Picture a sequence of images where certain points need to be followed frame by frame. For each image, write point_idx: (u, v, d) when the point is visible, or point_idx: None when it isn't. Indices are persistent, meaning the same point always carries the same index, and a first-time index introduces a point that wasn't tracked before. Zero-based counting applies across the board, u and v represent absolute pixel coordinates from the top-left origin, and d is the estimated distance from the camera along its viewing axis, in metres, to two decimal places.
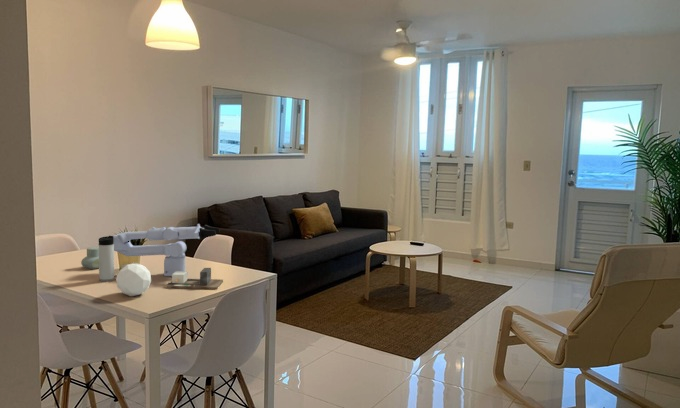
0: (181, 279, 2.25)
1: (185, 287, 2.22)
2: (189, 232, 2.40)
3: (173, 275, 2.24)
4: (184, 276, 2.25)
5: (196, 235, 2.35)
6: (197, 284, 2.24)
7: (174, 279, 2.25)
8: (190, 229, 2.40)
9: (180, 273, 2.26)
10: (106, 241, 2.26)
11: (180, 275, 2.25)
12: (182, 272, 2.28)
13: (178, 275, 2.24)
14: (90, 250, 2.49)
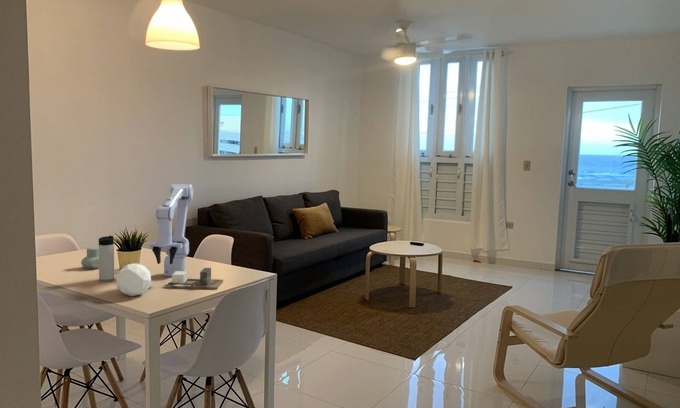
0: (181, 279, 2.25)
1: (185, 287, 2.22)
2: None
3: (173, 275, 2.24)
4: (184, 276, 2.25)
5: None
6: (197, 284, 2.24)
7: (174, 279, 2.25)
8: (159, 237, 2.23)
9: (180, 273, 2.26)
10: (106, 241, 2.26)
11: (180, 275, 2.25)
12: (182, 272, 2.28)
13: (178, 275, 2.24)
14: (90, 250, 2.49)
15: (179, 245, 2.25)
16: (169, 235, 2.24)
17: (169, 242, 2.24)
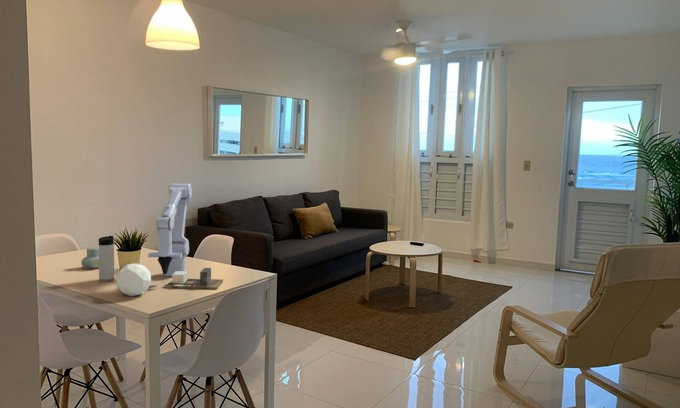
0: (181, 279, 2.25)
1: (185, 287, 2.22)
2: None
3: (173, 275, 2.24)
4: (184, 276, 2.25)
5: None
6: (197, 284, 2.24)
7: (174, 279, 2.25)
8: (159, 247, 2.24)
9: (180, 273, 2.26)
10: (106, 241, 2.26)
11: (180, 275, 2.25)
12: (182, 272, 2.28)
13: (178, 275, 2.24)
14: (90, 250, 2.49)
15: (179, 255, 2.25)
16: (169, 245, 2.24)
17: (169, 252, 2.25)
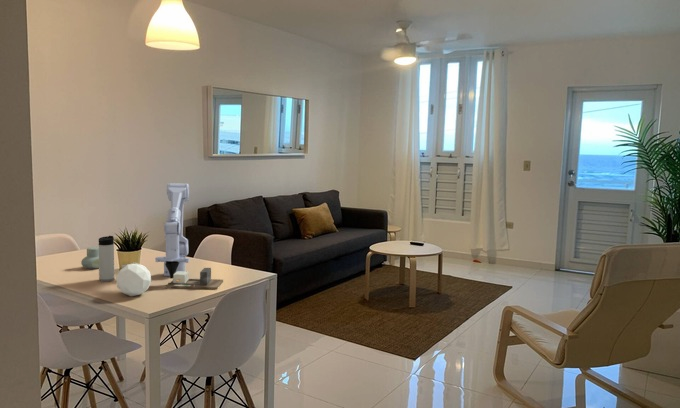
0: (182, 279, 2.25)
1: (185, 287, 2.22)
2: None
3: (174, 275, 2.24)
4: (185, 276, 2.25)
5: None
6: (197, 284, 2.24)
7: (175, 279, 2.25)
8: (166, 251, 2.24)
9: (181, 273, 2.26)
10: (106, 241, 2.26)
11: (181, 275, 2.25)
12: (183, 272, 2.28)
13: (179, 275, 2.24)
14: (90, 250, 2.49)
15: (186, 260, 2.26)
16: (176, 250, 2.25)
17: (176, 257, 2.25)
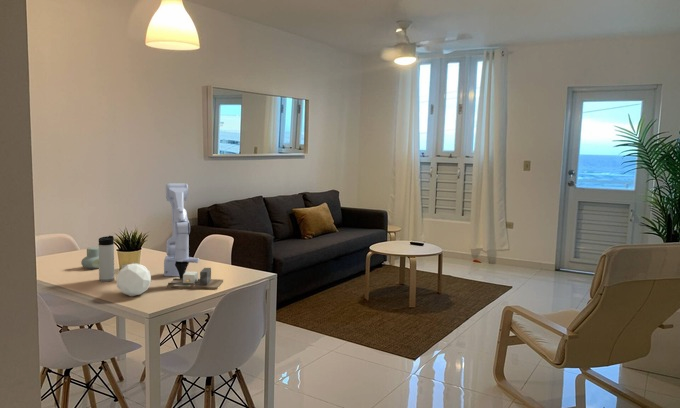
0: (192, 279, 2.25)
1: (185, 287, 2.22)
2: None
3: (184, 275, 2.25)
4: (194, 276, 2.25)
5: None
6: (197, 284, 2.24)
7: (185, 279, 2.25)
8: (176, 252, 2.24)
9: (191, 273, 2.27)
10: (106, 241, 2.26)
11: (191, 275, 2.25)
12: (193, 272, 2.28)
13: (189, 275, 2.25)
14: (90, 250, 2.49)
15: (196, 260, 2.26)
16: (186, 250, 2.25)
17: (186, 257, 2.25)
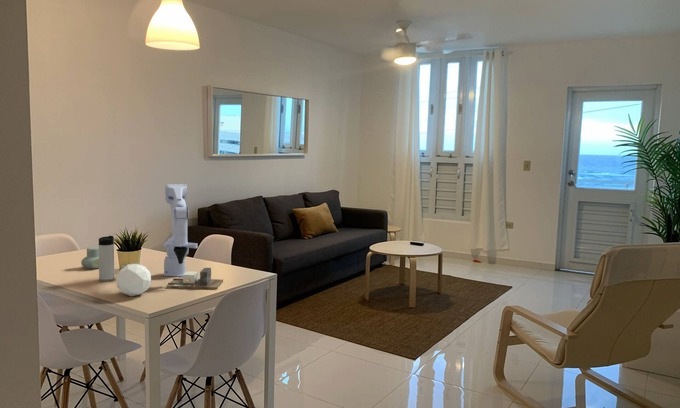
0: (192, 279, 2.25)
1: (185, 287, 2.22)
2: (174, 235, 2.26)
3: (184, 275, 2.25)
4: (194, 276, 2.25)
5: None
6: (197, 284, 2.24)
7: (185, 279, 2.25)
8: (174, 237, 2.25)
9: (191, 273, 2.27)
10: (106, 241, 2.26)
11: (191, 275, 2.25)
12: (193, 272, 2.28)
13: (189, 275, 2.25)
14: (90, 250, 2.49)
15: (195, 245, 2.26)
16: (185, 235, 2.25)
17: (185, 242, 2.26)
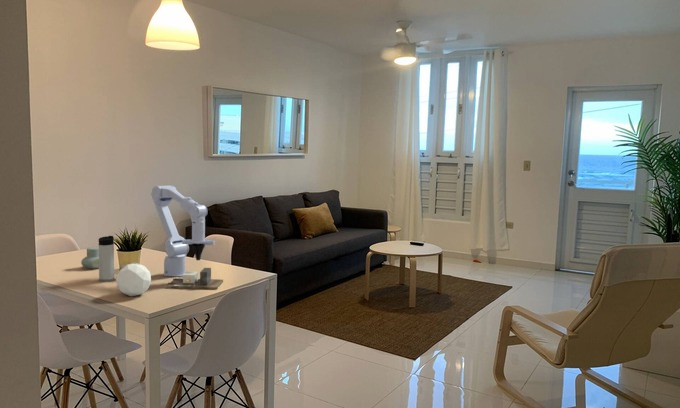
0: (192, 279, 2.25)
1: (185, 287, 2.22)
2: (192, 233, 2.34)
3: (184, 275, 2.25)
4: (194, 276, 2.25)
5: None
6: (197, 284, 2.24)
7: (185, 279, 2.25)
8: (192, 234, 2.33)
9: (191, 273, 2.27)
10: (106, 241, 2.26)
11: (191, 275, 2.25)
12: (193, 272, 2.28)
13: (189, 275, 2.25)
14: (90, 250, 2.49)
15: (212, 242, 2.34)
16: (202, 232, 2.33)
17: (202, 239, 2.34)
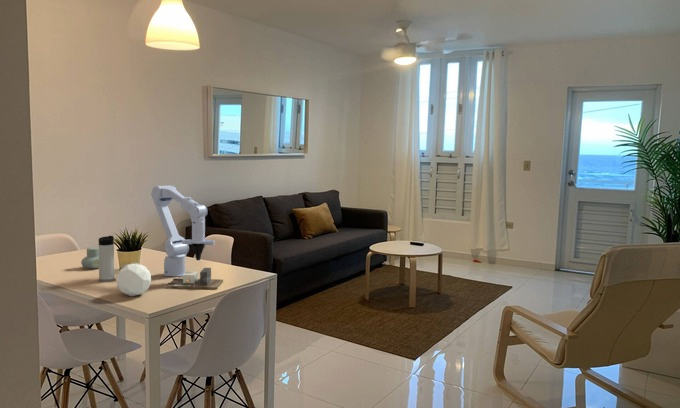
0: (192, 279, 2.25)
1: (185, 287, 2.22)
2: (192, 233, 2.34)
3: (184, 275, 2.25)
4: (194, 276, 2.25)
5: None
6: (197, 284, 2.24)
7: (185, 279, 2.25)
8: (192, 234, 2.33)
9: (191, 273, 2.27)
10: (106, 241, 2.26)
11: (191, 275, 2.25)
12: (193, 272, 2.28)
13: (189, 275, 2.25)
14: (90, 250, 2.49)
15: (212, 242, 2.34)
16: (202, 232, 2.33)
17: (202, 239, 2.34)
